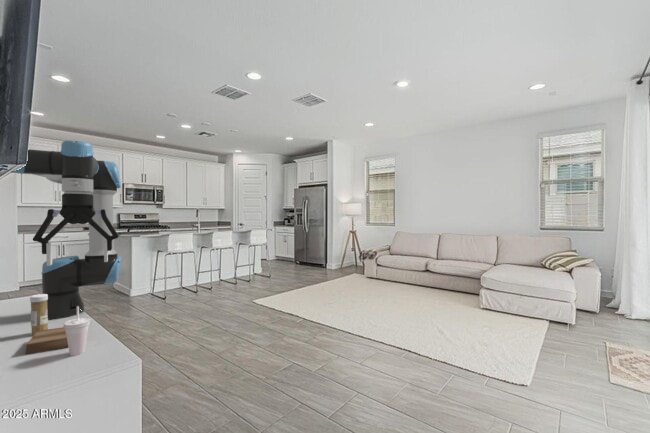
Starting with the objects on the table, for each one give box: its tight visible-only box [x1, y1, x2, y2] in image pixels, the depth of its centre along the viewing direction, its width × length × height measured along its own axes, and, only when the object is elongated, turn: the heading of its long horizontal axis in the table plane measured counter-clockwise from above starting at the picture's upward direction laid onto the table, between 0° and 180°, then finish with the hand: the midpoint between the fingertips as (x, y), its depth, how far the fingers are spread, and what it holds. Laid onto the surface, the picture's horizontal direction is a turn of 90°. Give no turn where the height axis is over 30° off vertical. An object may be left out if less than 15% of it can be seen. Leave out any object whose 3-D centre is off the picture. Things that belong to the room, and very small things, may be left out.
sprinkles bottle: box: [29, 293, 49, 336], centre depth 109 cm, size 5×5×13 cm
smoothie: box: [63, 306, 91, 357], centre depth 95 cm, size 6×6×14 cm
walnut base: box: [25, 327, 68, 355], centre depth 102 cm, size 12×12×3 cm
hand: (78, 263), depth 95 cm, fingers open, 13 cm apart
